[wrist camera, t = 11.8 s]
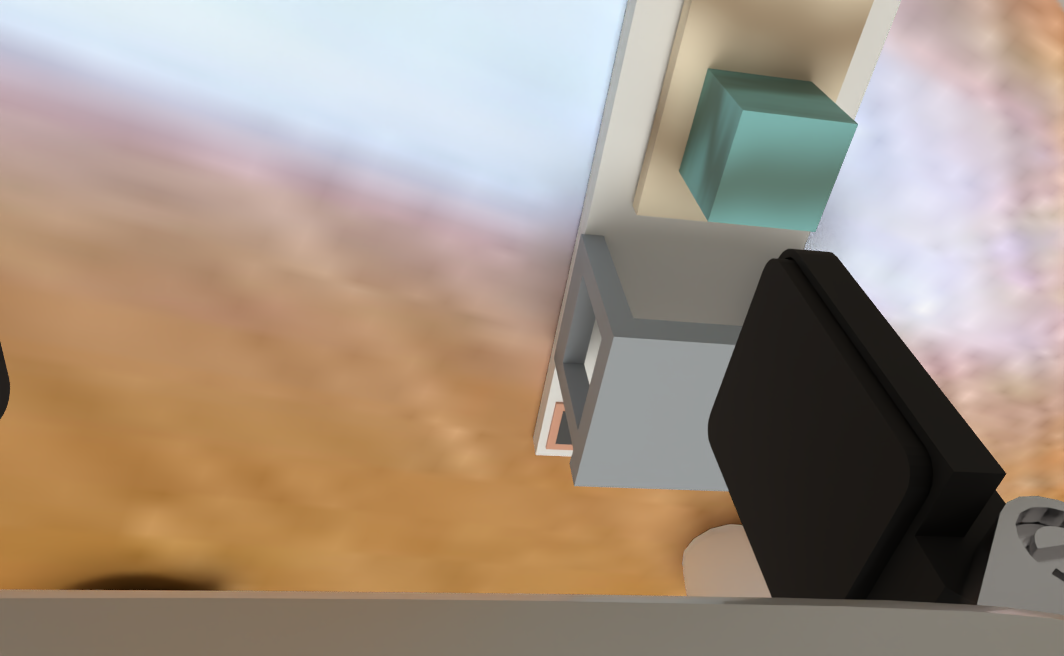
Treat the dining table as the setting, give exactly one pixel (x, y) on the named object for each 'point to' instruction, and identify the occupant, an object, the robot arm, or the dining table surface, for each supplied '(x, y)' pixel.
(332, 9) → the dining table surface
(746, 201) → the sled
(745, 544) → the foam cup
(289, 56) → the dining table surface
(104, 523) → the dining table surface
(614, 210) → the tunnel board
